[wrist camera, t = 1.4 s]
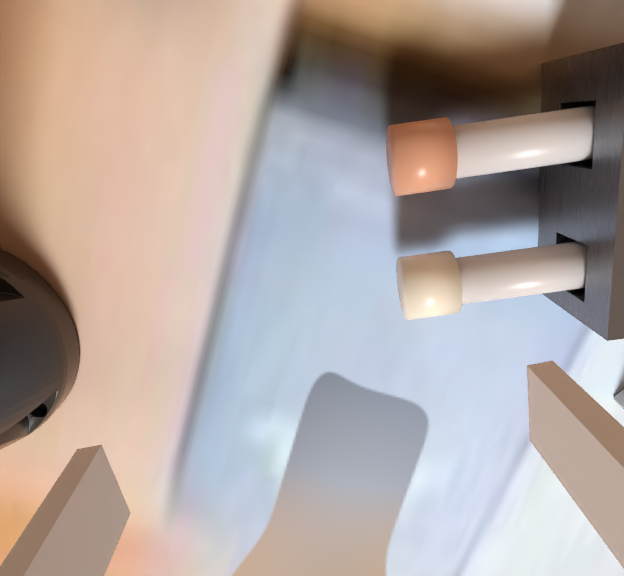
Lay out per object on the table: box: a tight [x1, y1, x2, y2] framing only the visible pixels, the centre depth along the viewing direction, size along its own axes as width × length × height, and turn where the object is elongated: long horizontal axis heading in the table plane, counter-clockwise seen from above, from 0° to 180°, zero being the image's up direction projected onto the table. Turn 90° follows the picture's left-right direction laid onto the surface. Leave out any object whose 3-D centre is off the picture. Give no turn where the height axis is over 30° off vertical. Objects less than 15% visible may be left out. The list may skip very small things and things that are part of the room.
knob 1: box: [386, 105, 596, 196], centre depth 26 cm, size 15×4×4 cm, turn 98°
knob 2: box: [396, 241, 588, 320], centre depth 28 cm, size 15×4×4 cm, turn 98°
